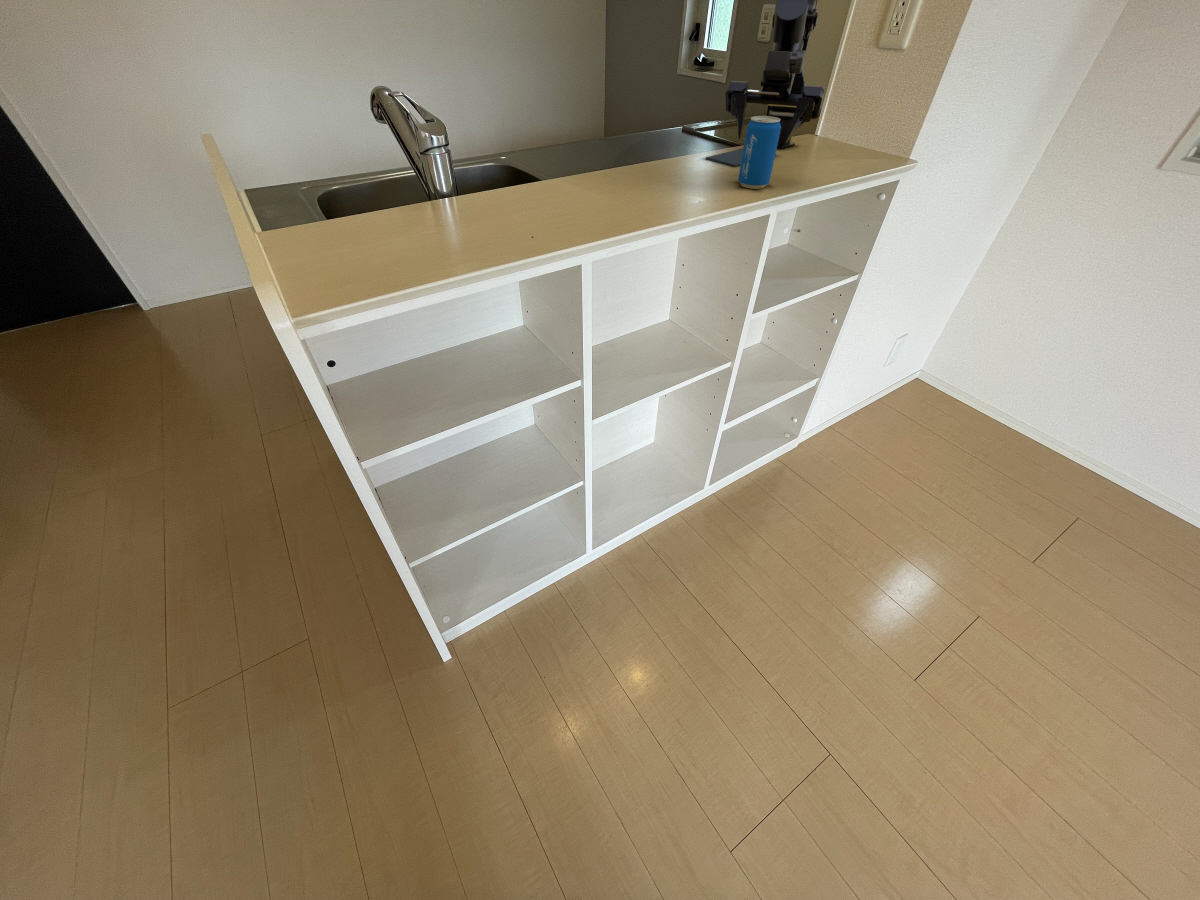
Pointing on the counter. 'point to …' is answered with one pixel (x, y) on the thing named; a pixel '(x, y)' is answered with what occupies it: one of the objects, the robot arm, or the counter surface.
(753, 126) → the beverage can
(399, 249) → the counter surface
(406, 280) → the counter surface
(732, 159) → the mat
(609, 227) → the counter surface
